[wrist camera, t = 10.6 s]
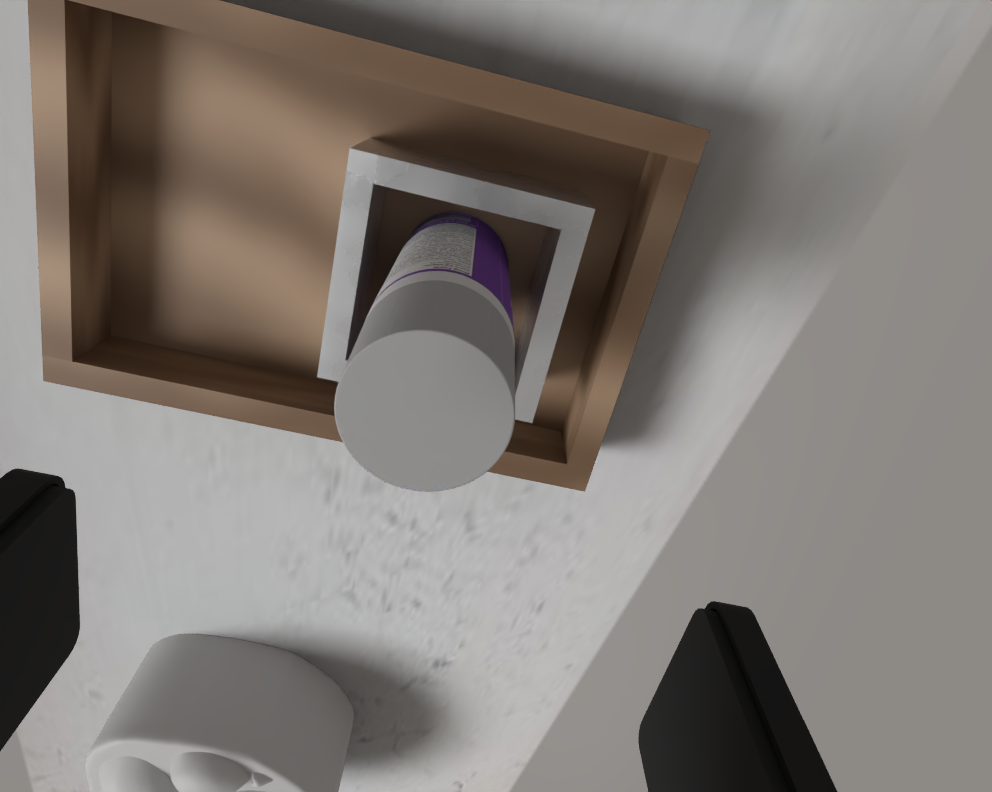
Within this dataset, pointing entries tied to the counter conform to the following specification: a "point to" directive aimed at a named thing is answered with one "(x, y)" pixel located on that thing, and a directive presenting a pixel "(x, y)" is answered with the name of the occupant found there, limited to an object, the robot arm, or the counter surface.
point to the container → (434, 361)
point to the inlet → (467, 186)
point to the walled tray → (309, 209)
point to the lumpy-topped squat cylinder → (223, 722)
